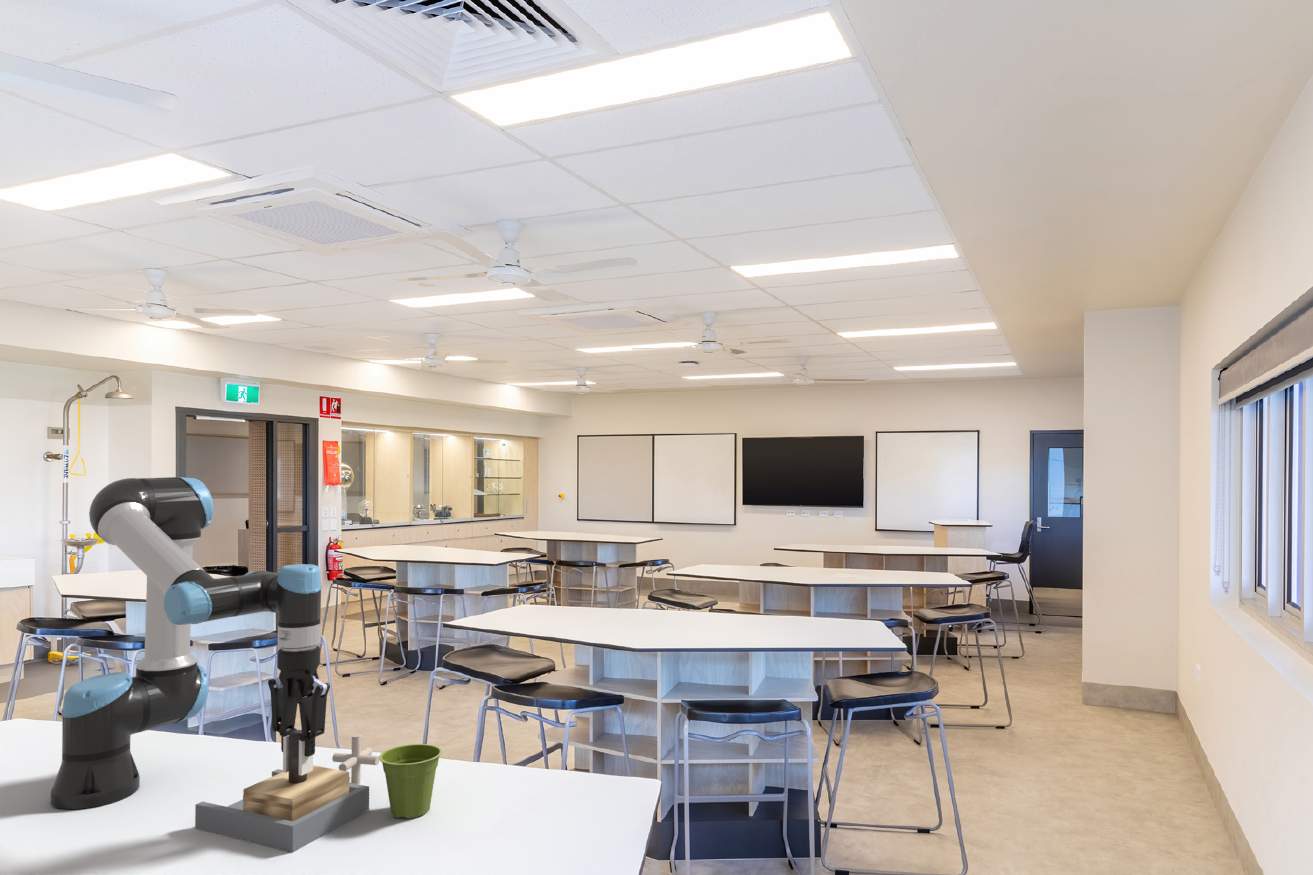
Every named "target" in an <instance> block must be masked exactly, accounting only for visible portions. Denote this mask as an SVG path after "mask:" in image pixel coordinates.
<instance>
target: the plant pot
mask: <svg viewBox="0 0 1313 875" xmlns="http://www.w3.org/2000/svg"><path fill="white" fill-rule="evenodd" d="M442 753H443V749H442V748H441V747H439V746H436V745H434V744H428V743H426V744H425V743H413V744H411V743H409V744H401V745H398V746H394V747H391V748H389V749H386V750H384V751H383V752H381V753H380V754H379V755H378V756H379V759H380V761H379V762H381V764H382V769H383V772H384V776H385V780H386V782H385V783H386V789H387V795H388V801H389V807H390V813H391V816H393V817H395V818H397V819H399V818H406V819H413V818H414V819H415V818H417V817H421V816H423V815H425V814H426V813H427V812H428V811H429V810H430V807H431V803H432V797H433V790H434V783H435V777H436V771H437V767H438V765H439V759H440V757H441V756H442Z"/></svg>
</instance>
